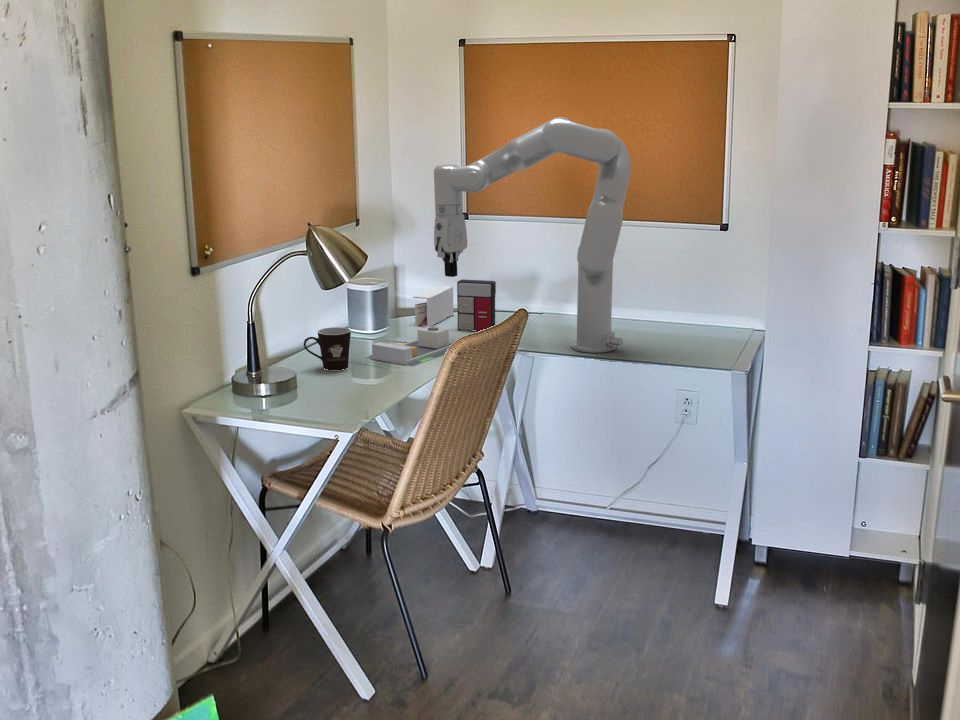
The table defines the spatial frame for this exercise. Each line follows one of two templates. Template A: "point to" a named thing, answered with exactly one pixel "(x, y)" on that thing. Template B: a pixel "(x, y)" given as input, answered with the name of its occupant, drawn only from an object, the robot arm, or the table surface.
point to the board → (404, 353)
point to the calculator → (476, 304)
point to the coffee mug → (333, 347)
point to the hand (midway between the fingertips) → (451, 276)
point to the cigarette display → (434, 306)
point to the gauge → (433, 337)
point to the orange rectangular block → (414, 350)
